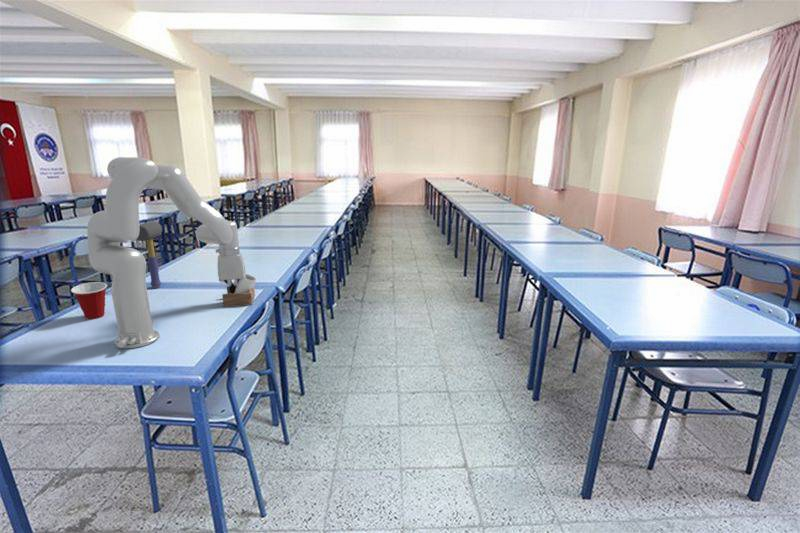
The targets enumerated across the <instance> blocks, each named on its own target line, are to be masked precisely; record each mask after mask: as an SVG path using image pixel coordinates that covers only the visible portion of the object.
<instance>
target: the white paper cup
mask: <svg viewBox="0 0 800 533" xmlns="http://www.w3.org/2000/svg"><path fill="white" fill-rule="evenodd" d="M245 275H246V278H245V277H243V278H242V279H239V281H238V284H237V286H236V289H235V293H249V291H250V290H251V289H252V288H253V286H254V287H255V285H256V283H257V280H258V279H257V278H256V277H255V276H253V275H251V274H248V273H245Z"/></svg>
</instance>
